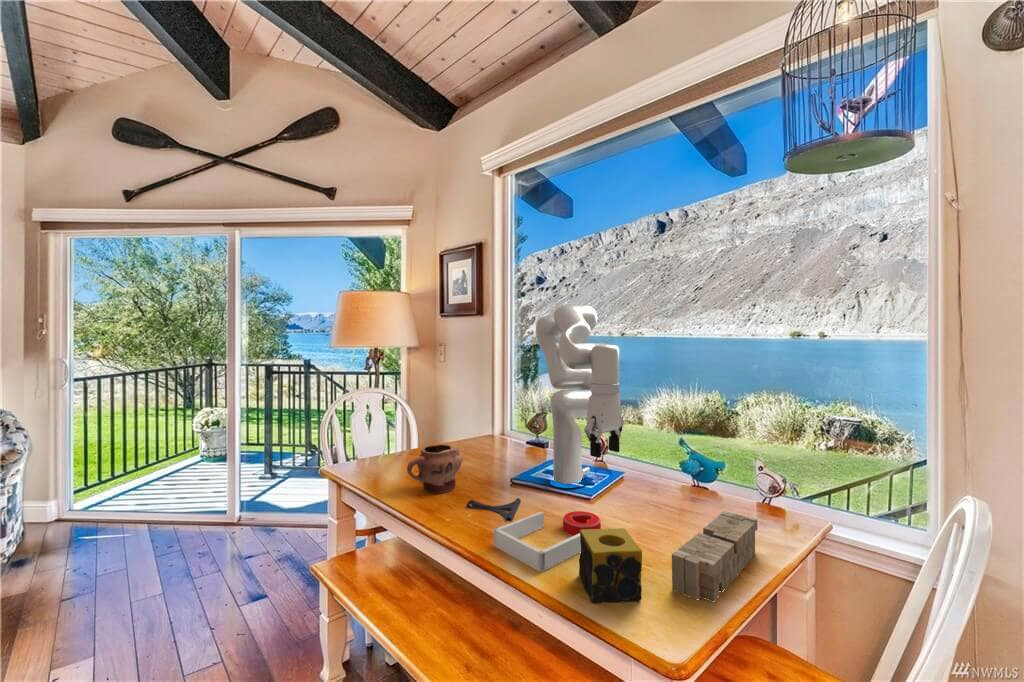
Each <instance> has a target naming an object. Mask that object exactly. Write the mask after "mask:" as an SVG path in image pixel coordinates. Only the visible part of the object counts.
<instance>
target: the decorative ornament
mask: <svg viewBox="0 0 1024 682" xmlns="http://www.w3.org/2000/svg"><path fill="white" fill-rule="evenodd" d="M562 520H563V521H562V522H563V523H562V528H563V529H564V530H563V529H562V530H563V532H565V533H566V532H567V533H568V534H567V533H566V534H567V535H569V534H570V535H569V536H571V537H572V536H575V535H577V534H579V533H580V530H582V529H602V528H601V527H602V526H601V525H602V523H601V522H602V521H601V518H600V517H599V516H598V514H596V513H593V512H589V511H583V510H582V511H581V510H575V511H570V512H567V513H565V514H564V516H563V518H562Z"/></svg>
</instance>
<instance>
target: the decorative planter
mask: <svg viewBox="0 0 1024 682" xmlns="http://www.w3.org/2000/svg"><path fill="white" fill-rule="evenodd" d="M463 459H464V458H463V456H462V454H460V450H459V448H458V447H457V446H456V445H452V444H436V445H430V446H426V447H423V448H422V449H421V451H420V454H419V456H418V457H414V458H413V459H411V460H410V461H409V462H408V464H407V468H406V471H407V474H408V475H409V476H410V478H412V479H413V480H414V481H417V482H419V483H421V484H423V485H422V486H423V488H424V490H425V491H426V492H428V493H431V494H441V493H447V492H449V491H452V490H454V489H455V488H456V474H457V472H458V471H459V469H460V467H461V466H462V463H463ZM416 465H417V469H418V472H419V473H418V475H415V474H414V473H413V472H412V470H413V468H414V466H416Z"/></svg>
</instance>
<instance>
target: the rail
mask: <svg viewBox="0 0 1024 682" xmlns="http://www.w3.org/2000/svg"><path fill="white" fill-rule="evenodd" d="M544 515H545V514H544V512H543V511H539V512H536V513H533V514H531V515H528V516H526V517H522V518H521V519H517V520H515V521H511V522H510V523H508V524H504V525H502V526H500V527H497V528H496V527H495V528H494V529H493V547H495V548H497V549H498V550H500V551H502V552H504V553H506V554H507V555H510V556H511V557H513V558H515V559H516V560H517V561H520V562H522V563H524V564H525V565H528V566H529V567H531V568H532V569H535V570H536V571H538V572H539V573H541V572H542V573H543V571H544V572H545V570H546V571H547V569H548V570H550V569H552V568H553V566H554V565H555V566H557V565H559V564H561V563H563V562H565V561H567V560H569V559H571V558H573V557H575V556H577V555H579V554H580V552H581V543H580V533H579V534H577V535H575V536H572V535H571V536H570V537H567V538H566V539H564V540H562V541H560V542H558V543H555V544H552V545H550V546H549V547H546V548H545V549H542V550H541V549H539V548H537V547H535V546H534V545H531V544H530V543H527V542H525V541H524V540H521V538H523V537H525V536H528V535H530V534H533V533H535V532H537V531H540V530H543V529H544V528H545V525H544V523H545V522H544V521H545V520H544V517H545V516H544ZM539 529H540V530H539ZM532 532H533V533H532ZM578 553H579V554H578ZM576 554H577V555H576ZM574 555H575V556H574ZM572 556H573V557H572ZM570 557H571V558H570ZM568 558H569V559H568ZM566 559H567V560H566ZM564 560H565V561H564ZM562 561H563V562H562ZM560 562H561V563H560ZM558 563H559V564H558ZM556 564H557V565H556ZM555 566H554V567H555ZM551 567H552V568H551ZM549 568H550V569H549Z"/></svg>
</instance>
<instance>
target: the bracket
mask: <svg viewBox="0 0 1024 682" xmlns="http://www.w3.org/2000/svg"><path fill="white" fill-rule="evenodd" d="M521 501H522V500H521V498H519V497H518V498H515V500H514V501H512V502H509V503H506V504H502V505H501V504H500V505H490V504H485V503H482V502H479V501H477V500H476V501H475V500H473V499H470V500H468V501H467V503H466V509H475V510H476V509H477V510H489V511H492V512H496V513H498V514H500V516H501V517H503V518H504V520H505V521H509V519H510V522H513V521H514V519H515V515H516V513H517V512H518V509H519V507H520V505H521Z"/></svg>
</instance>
